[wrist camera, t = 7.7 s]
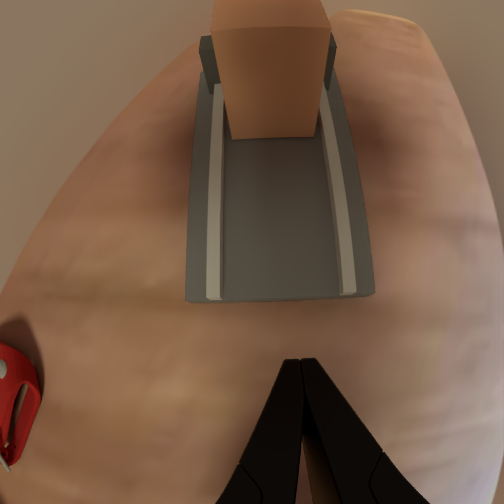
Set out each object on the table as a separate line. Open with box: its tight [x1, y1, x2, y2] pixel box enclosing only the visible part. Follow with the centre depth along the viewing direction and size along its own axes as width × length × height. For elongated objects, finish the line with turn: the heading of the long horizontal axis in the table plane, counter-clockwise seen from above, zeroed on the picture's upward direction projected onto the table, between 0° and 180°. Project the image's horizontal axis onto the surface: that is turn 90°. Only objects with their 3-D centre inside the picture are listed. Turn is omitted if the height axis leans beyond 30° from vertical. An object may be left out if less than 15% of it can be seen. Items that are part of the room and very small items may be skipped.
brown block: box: [211, 0, 331, 140], centre depth 18 cm, size 5×6×10 cm
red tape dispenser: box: [0, 341, 41, 472], centre depth 18 cm, size 12×4×10 cm
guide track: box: [185, 32, 375, 303], centre depth 20 cm, size 20×12×6 cm, turn 1°
